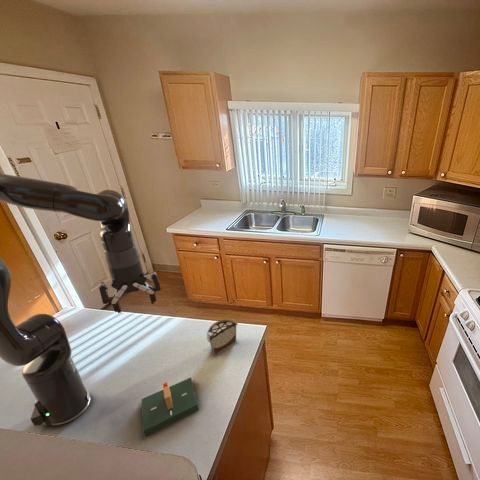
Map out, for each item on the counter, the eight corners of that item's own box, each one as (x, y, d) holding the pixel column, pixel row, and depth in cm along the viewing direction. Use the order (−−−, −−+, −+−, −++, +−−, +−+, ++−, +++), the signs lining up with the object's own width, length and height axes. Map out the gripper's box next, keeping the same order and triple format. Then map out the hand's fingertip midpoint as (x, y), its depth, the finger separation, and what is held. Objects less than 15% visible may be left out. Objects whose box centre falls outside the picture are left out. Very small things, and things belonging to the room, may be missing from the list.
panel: (144, 436, 71) (142, 430, 70) (143, 403, 79) (141, 398, 78) (198, 409, 79) (197, 403, 78) (191, 382, 87) (190, 377, 86)
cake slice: (230, 332, 109) (228, 314, 105) (239, 340, 105) (237, 321, 101) (203, 349, 100) (199, 329, 96) (211, 358, 96) (208, 338, 92)
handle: (173, 407, 76) (169, 395, 74) (167, 410, 76) (164, 398, 73) (170, 393, 80) (167, 381, 78) (165, 395, 80) (162, 383, 78)
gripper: (90, 273, 66) (107, 322, 72) (154, 260, 74) (164, 306, 80) (92, 261, 72) (108, 307, 78) (152, 251, 79) (162, 294, 86)
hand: (136, 306), depth 79 cm, fingers open, 8 cm apart
